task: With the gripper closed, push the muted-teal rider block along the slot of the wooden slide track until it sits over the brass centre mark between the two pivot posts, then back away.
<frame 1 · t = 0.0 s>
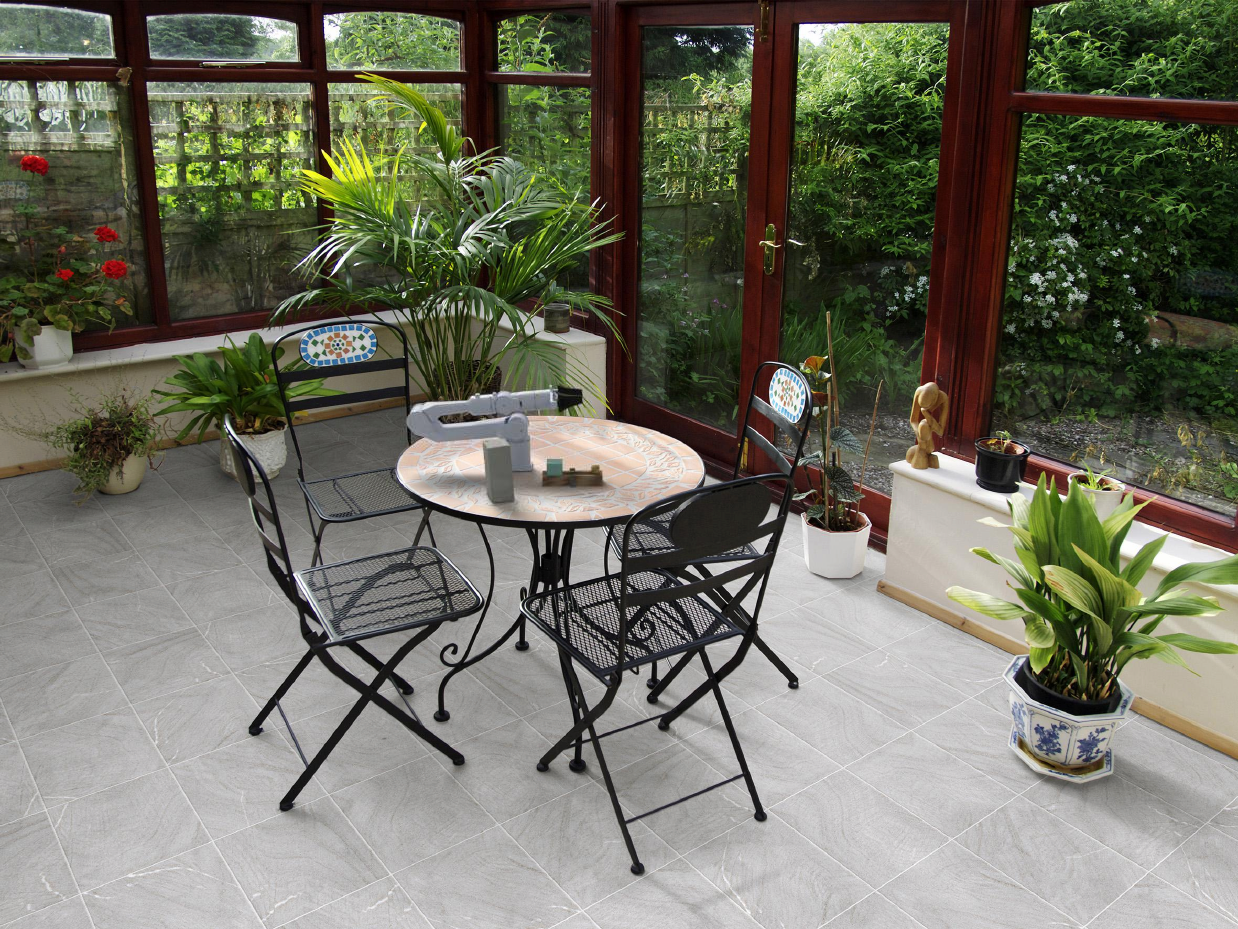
hand: (582, 396, 320), 22 cm above the table, tool horizontal, fingers open, 7 cm apart
rider: (554, 469, 312), point 4 cm above the table, slide at -5.0 cm
wooden slide track: (572, 483, 313), on the table
skincare box: (499, 498, 302), on the table
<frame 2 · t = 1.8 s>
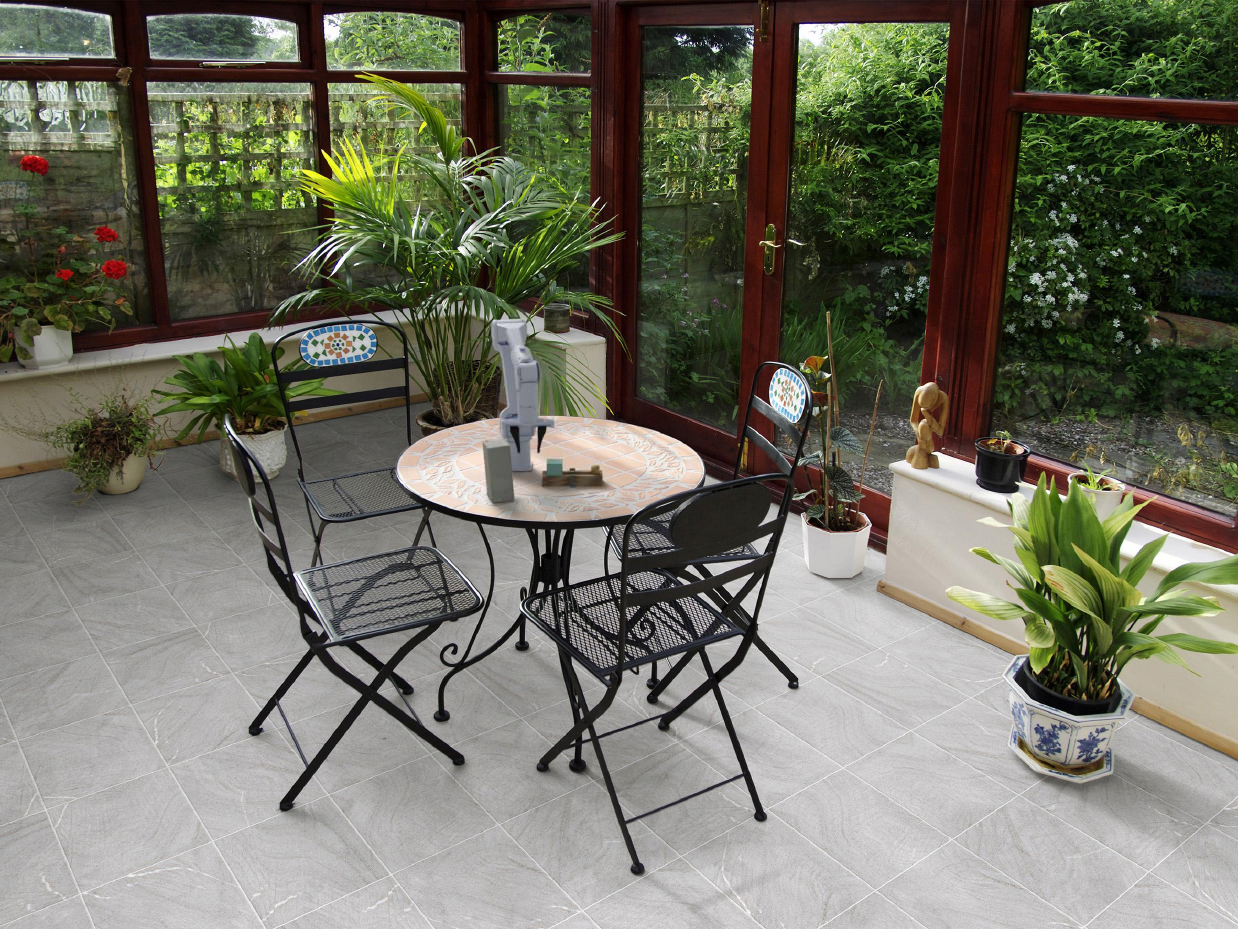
hand: (528, 451, 310), 9 cm above the table, tool pointing down, fingers open, 5 cm apart
nothing on the table moved.
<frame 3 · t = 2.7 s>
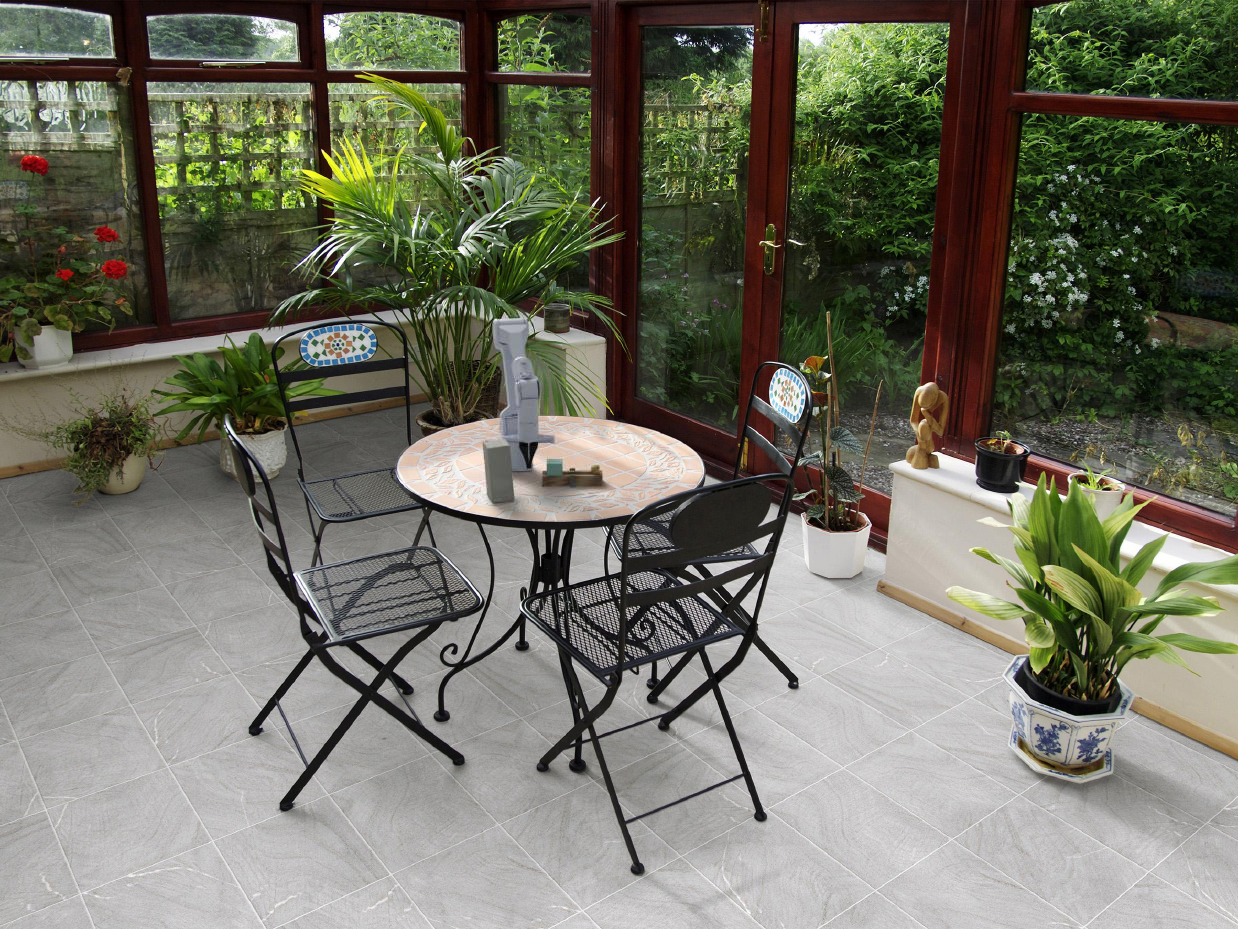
hand: (529, 467, 311), 5 cm above the table, tool pointing down, fingers closed
nothing on the table moved.
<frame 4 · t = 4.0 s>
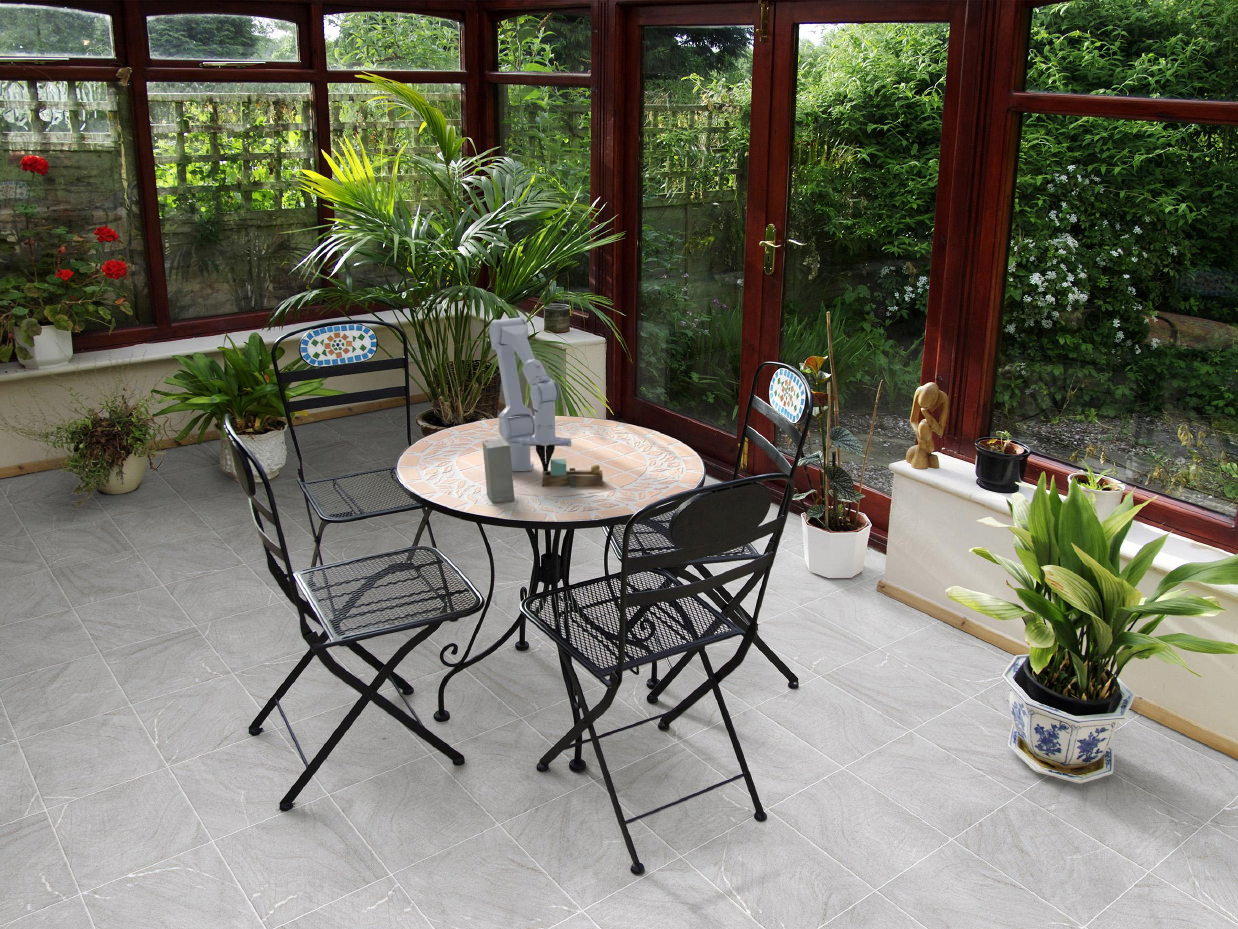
hand: (545, 470, 312), 4 cm above the table, tool pointing down, fingers closed
rider: (558, 469, 312), point 4 cm above the table, slide at -3.9 cm, touching gripper
everything else where it was.
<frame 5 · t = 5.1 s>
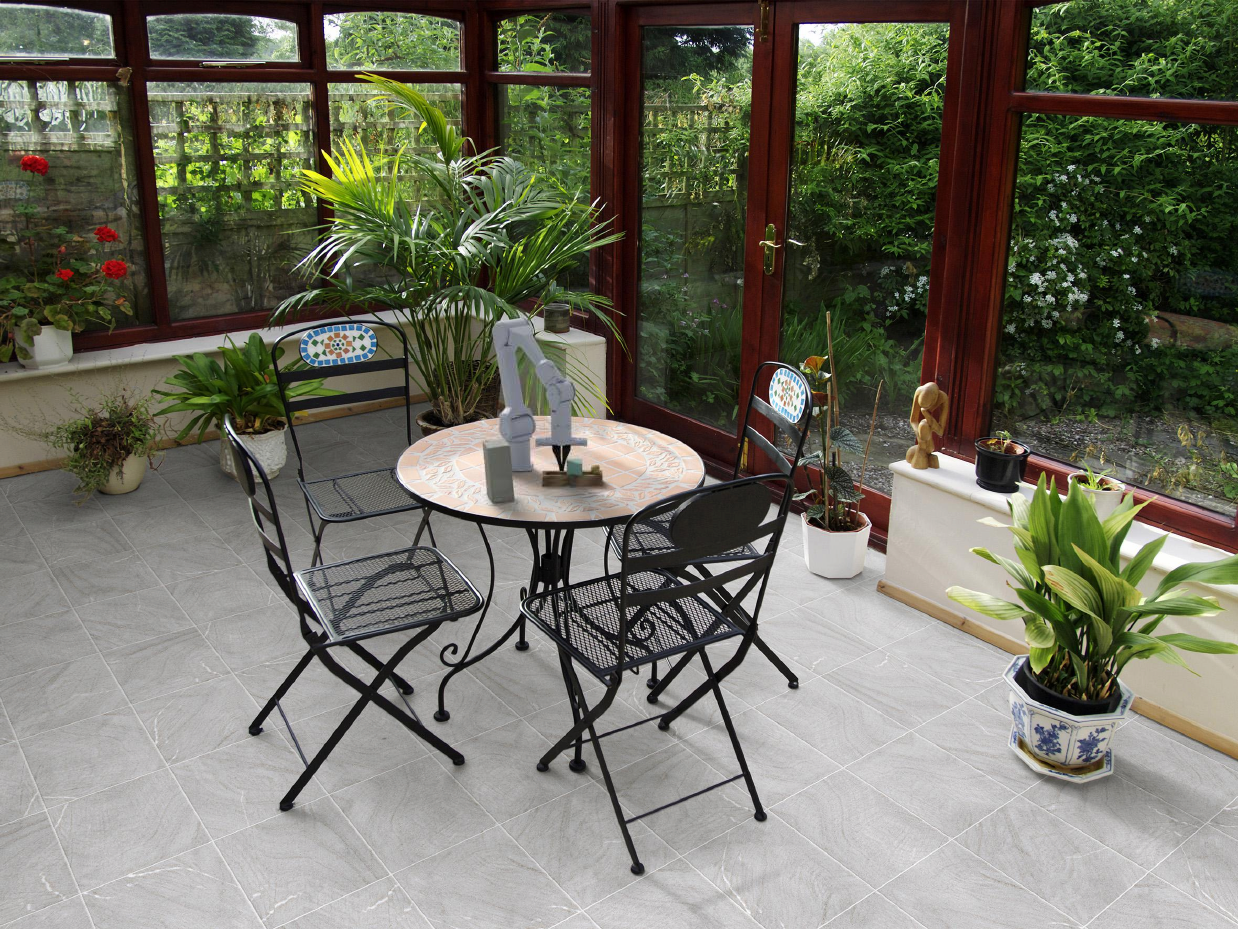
hand: (561, 470, 312), 4 cm above the table, tool pointing down, fingers closed
rider: (574, 469, 312), point 4 cm above the table, slide at 0.6 cm, touching gripper
everything else where it was.
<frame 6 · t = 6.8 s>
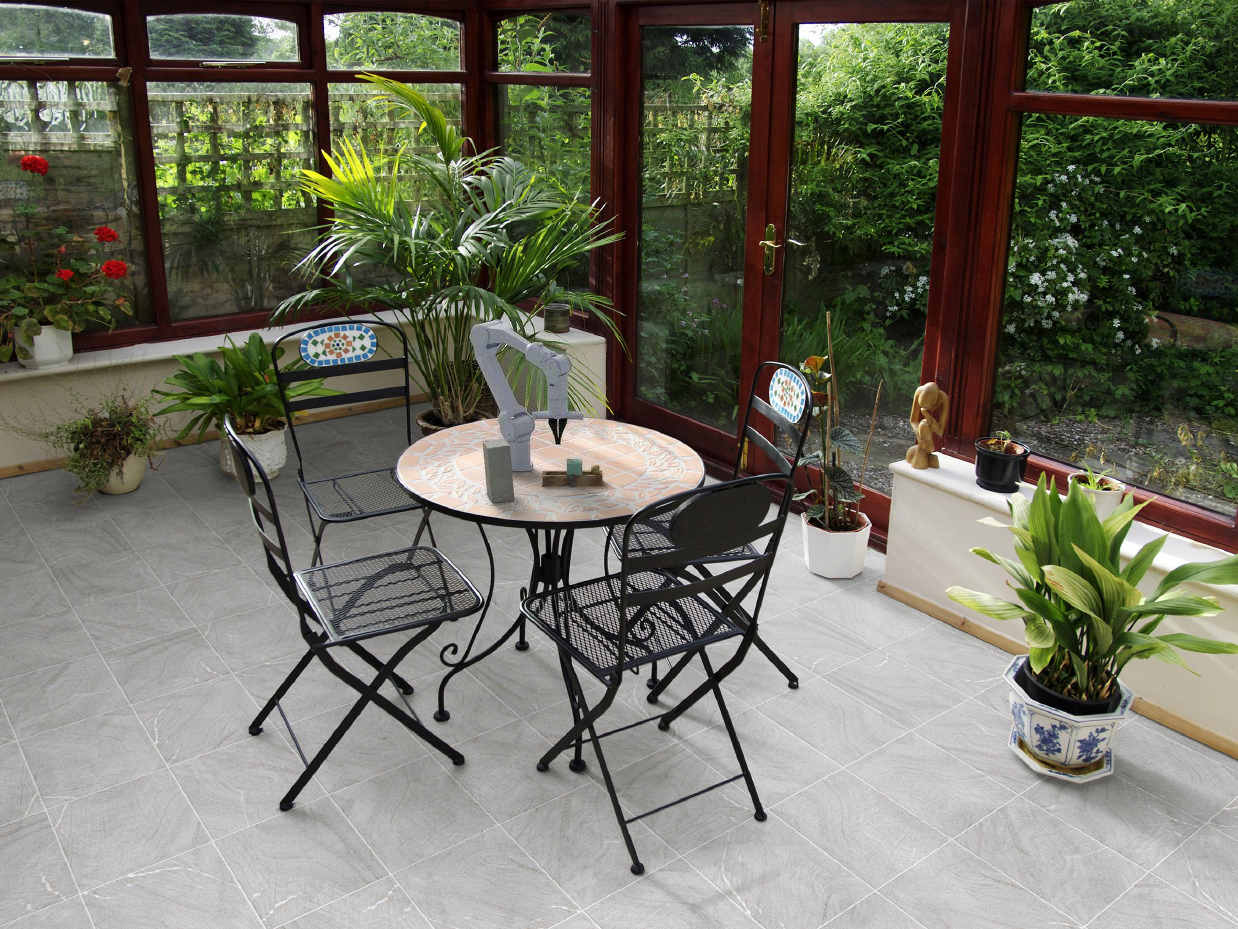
hand: (558, 443, 316), 10 cm above the table, tool pointing down, fingers closed
rider: (574, 469, 312), point 4 cm above the table, slide at 0.6 cm
everything else where it was.
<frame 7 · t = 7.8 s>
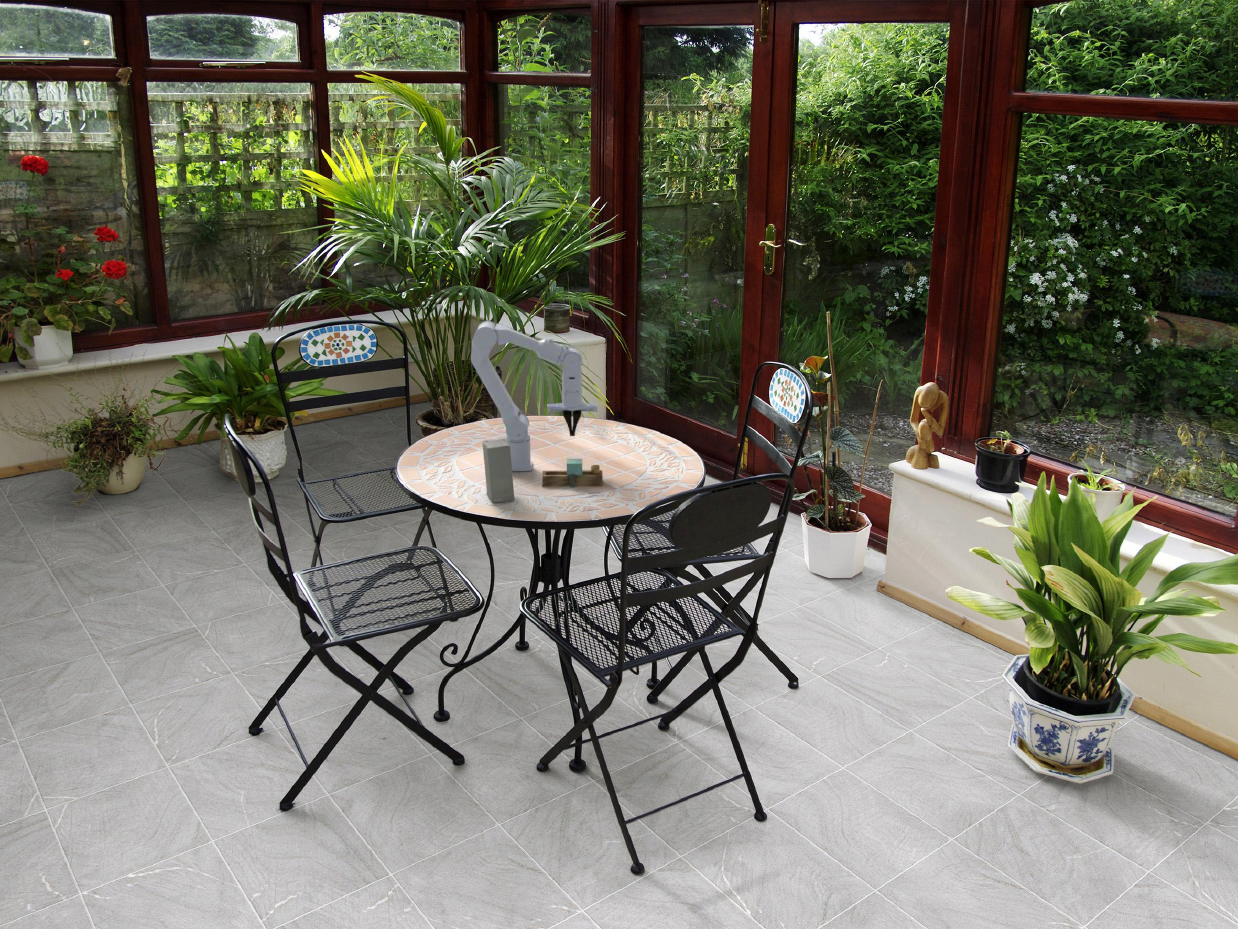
hand: (572, 435, 324), 10 cm above the table, tool pointing down, fingers closed
nothing on the table moved.
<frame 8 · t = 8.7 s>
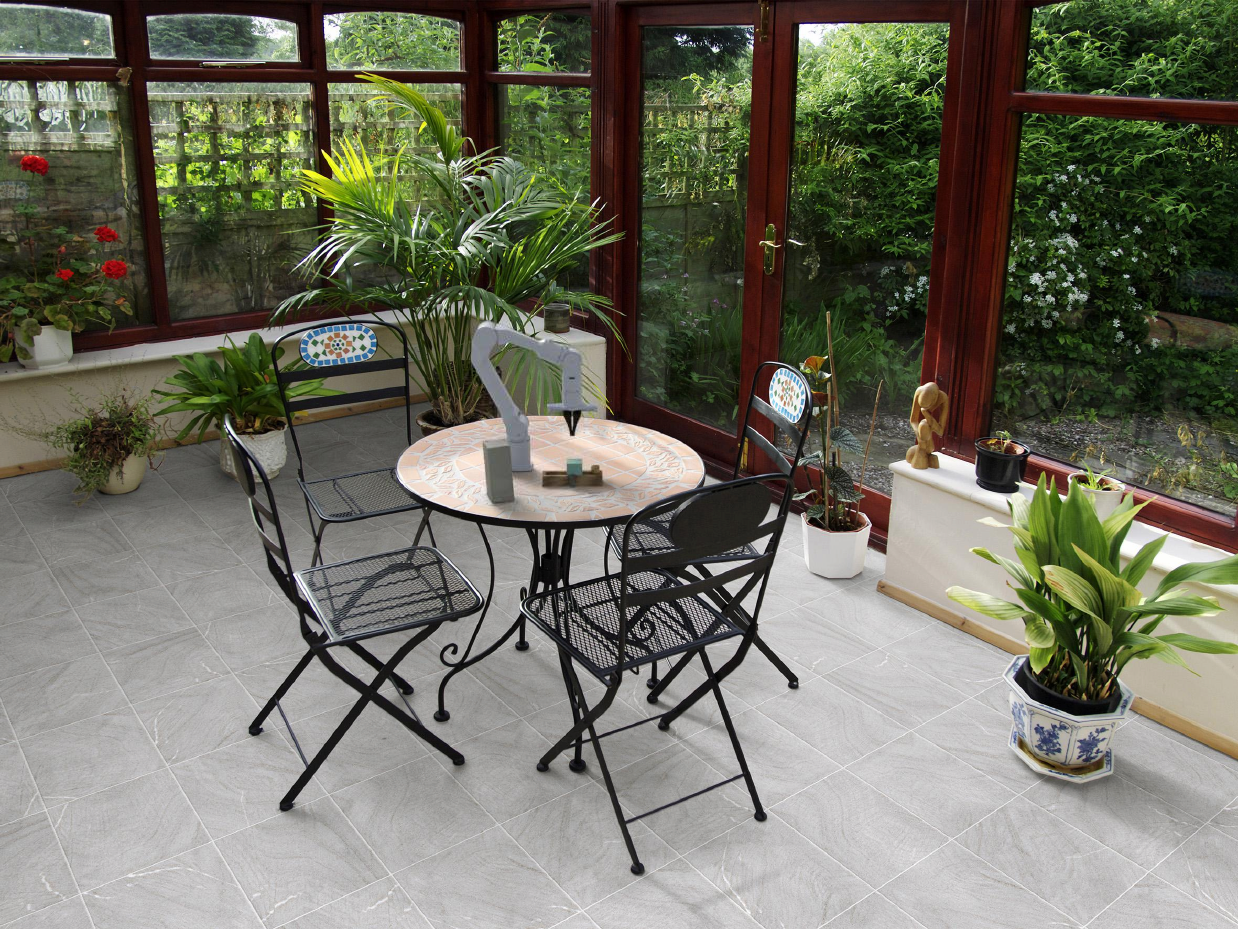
hand: (572, 435, 324), 10 cm above the table, tool pointing down, fingers closed
nothing on the table moved.
at the end: rider slide at 0.6 cm; the gripper is holding nothing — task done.
